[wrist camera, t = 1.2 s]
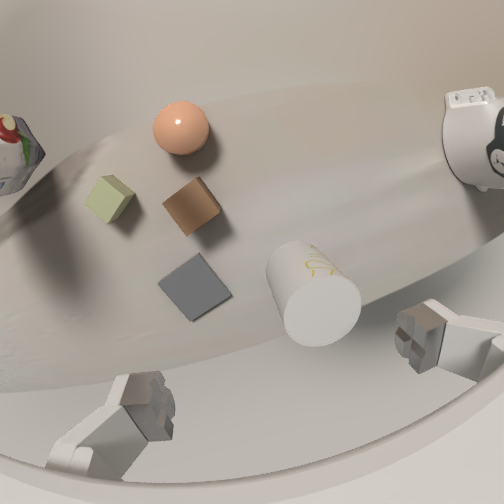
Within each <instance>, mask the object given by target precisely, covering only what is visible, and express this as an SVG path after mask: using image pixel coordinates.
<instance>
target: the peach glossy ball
mask: <svg viewBox="0 0 504 504" xmlns="http://www.w3.org/2000/svg"><path fill="white" fill-rule="evenodd" d="M153 133H154V137H155V140H156V142H157V143H158V145H159V146H160V147H161V148H162V149H164V150H165V151H167V152H170V153H174V154H178V155H189V154H192V153H195V152H196V151H198V150H199V149H201V148H202V147H203V146H204V144H205V143H206V141H207V139H208V136H209V124H208V121H207V119H206V116H205V114H204V112H203V111H202V110H201V109H200V108H199V107H198V106H197V105H195V104H193V103H190V102H186V101H181V102H180V101H179V102H175V103H171V104H169V105H167V106H166V107H165V108H163V109H162V110H161V111H160V112H159V114H158V115H157V117H156V119H155V122H154V126H153Z"/></svg>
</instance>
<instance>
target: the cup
mask: <svg viewBox="0 0 504 504" xmlns="http://www.w3.org/2000/svg"><path fill="white" fill-rule="evenodd" d="M266 277H267V280H268V283H269V286H270V288H271V291H272V294H273V297H274V299H275V302H276V305H277V307H278V310H279V313H280V315H281V318H282V321H283V323H284V326H285V329H286V331H287V333H288V335H289V336H290V337H291V338H292V339H293V340H294V341H296V342H297V343H299V344H301V345H304V346H308V347H321V346H326V345H329V344H332V343H334V342H336V341H338V340H339V339H341V338H342V337H344V336H345V335H346V334H347V333H348V332H349V331H350V330H351V329H352V328H353V326H354V325H355V323H356V321H357V320H358V317H359V314H360V311H361V296H360V293H359V291H358V289H357V287H356V286H355V285H354V284H353V283H352V282H351V281H350V280H349V279H348V278H347V277H346V276H345V275H344V274H343V273H342V272H341V271H340V270H339V269H338V268H337V267H336V266H335V265H334V264H333V263H332V262H331V261H330V260H329V259H327V258H326V257H325V256H324V255H323V254H322V253H321V252H320V251H319V250H318V249H317V248H316V247H315V246H313V245H312V244H310V243H307V242H304V241H292V242H288V243H286V244H283V245H282V246H280V247H279V248H277V249H276V250H275V251H274V252H273V254H272V255H271V256H270V258H269V260H268V263H267V267H266Z"/></svg>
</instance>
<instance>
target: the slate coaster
mask: <svg viewBox="0 0 504 504" xmlns="http://www.w3.org/2000/svg"><path fill="white" fill-rule="evenodd" d="M158 285H159V286H160V288H161V289H162V290H163V291H164V292H165V293H166V295H167V296H168V297H169V298H170V299H171V300H172V302H173V303H174V304H175V305H176V306H177V307H178V308H179V310H180V311H181V312H182V313H183V314H184V315H185V316H186V317H187V319H188V320H189V321H190V322H191V321H192V320H194V319H195V318H197V317H198V316H200V315H201V314H203V313H205V312H206V311H208V310H209V309H211V308H212V307H214V306H215V305H217V304H219V303H220V302H222V301H223V300H225V299H226V298H228V297H229V296H231V292H230V291H229V290H228V289H227V288H226V286H225V285H224V284H223V282H222V281H221V280H220V279H219V277H218V276H217V275H216V274H215V272H214V271H213V270H212V269H211V267H210V266H209V265H208V263H207V262H206V261H205V260H204V258H203V257H202V256H201V254H200V253H198V254H196V255H195V256H194V257H192V258H191V259H189V260H188V261H187V262H185V263H184V264H182V265H181V266H180V267H178V268H177V269H176V270H174V271H173V272H171V273H170V274H169V275H167V276H166V277H164V278H163V279H162V280H160V281H159V282H158Z"/></svg>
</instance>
